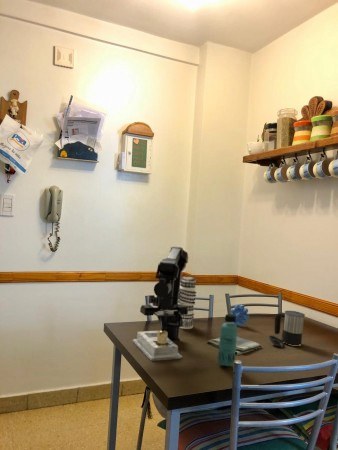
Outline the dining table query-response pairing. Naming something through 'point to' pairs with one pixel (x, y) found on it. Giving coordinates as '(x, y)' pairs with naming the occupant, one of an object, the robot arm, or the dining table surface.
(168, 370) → the dining table surface
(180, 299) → the leaning tower model
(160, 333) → the solid brass peg
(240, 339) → the dish towel
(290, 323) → the milk frother
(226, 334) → the beverage bottle
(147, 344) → the aluminium jig
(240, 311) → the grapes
